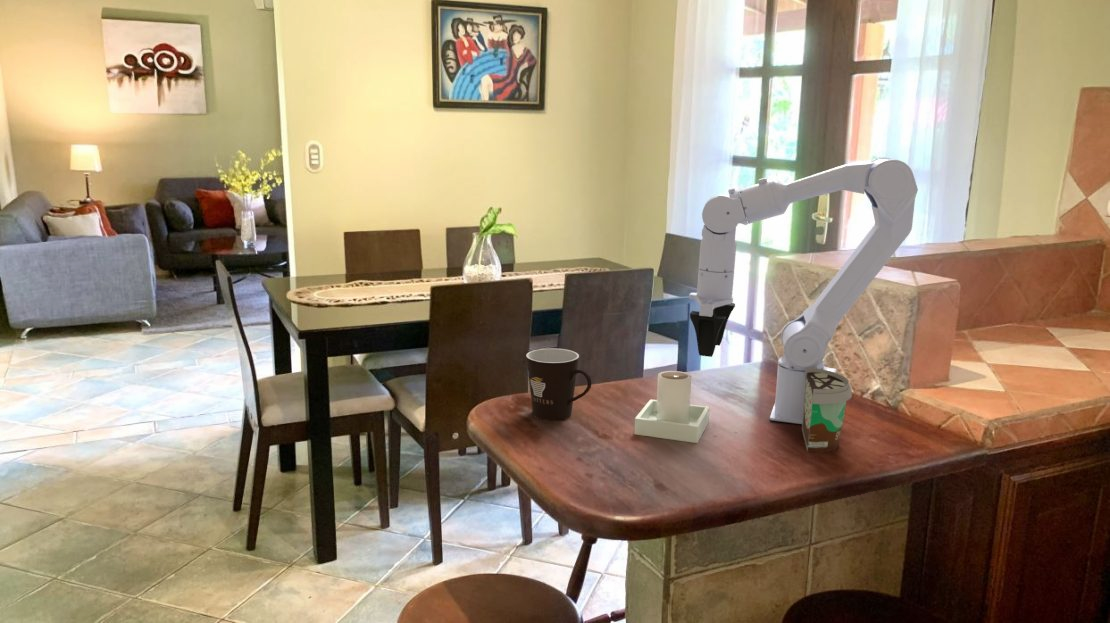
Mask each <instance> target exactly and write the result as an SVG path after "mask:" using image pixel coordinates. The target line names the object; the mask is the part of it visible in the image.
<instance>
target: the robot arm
mask: <svg viewBox="0 0 1110 623" xmlns="http://www.w3.org/2000/svg"><path fill="white" fill-rule="evenodd" d="M757 181H758V182H757V183H755V184H753V185H750V186H746V187H742V188H739V189H736V188H735V187H732V188H729V189H728V190H727V191H728V194H729V195H727V194H716V195H714V196H711V197H710V198H709V199H708V200H707V201H706V203H705V204H704V205H703V206H704V207H703V209H702V212H701V217H702V218H701V219H702V223H703V227H702V229H701V236H702V238H701V239H700V243H699V244H700V246H699V258H698V270H697V271H698V275H697V286H696V287H697V288H696V292H690V293H689V295H688V298H689V299H690V300H695V301H696V302H697V303H698V305H699V311H695V310H691V312H689V318H690V321H691V322H692V325H693V328H694V332H695V336H696V341H697V342H696V343H697V350H698V355H699V356H701V357H710V358H712V357H713V355H714V353H715V350H716V346H721V343H722V341H723V339H724V334H725V332H726V327H727V323H728V321H729V318H730V316H731V314H732V312H733V310H734V309H735V307H736V303H735V302H734V297H733V289H734V288H733V287H734V279H735V278H734V277H735V265H736V253H737V241H736V231H737V226H738V225H739V224H742V225H744V226H746V225H750V224H754V223H757V222H760V221H764V220H767V219H771V218H775V217H777V216H782V215H783V214H785V213H786V211H787V209H788V207H789V206H790V205H791V204H793V203H796V202H800V201H804V200H809V199H812V198H816V197H819V196H824V195H828V194H831V193H835V192H840V191H847V192H851V193H856V194H857V193H858V194H862V195H864V194H865V195H866V197H867V198H868V200H869V201H870V204H871V209H872V214H873V217H874V218H873V219H874V225H873V226H872V227H871V228H870V230H869V231H868V232H867V234H866V235H865V236H864V238H863V239H862V240H861V242H860V243H859V244H858V245H857V246H856V248H855V249H854V251H853V252H852V253H851V254H850V256H849V257H848V258H847V260H846V261H845V262H844V263H843V265H842V266H841V267H840V269H839V270H838V271H837V273H836V274H835V275H834V276H833V278H831V281H829V283H828V284H827V286H826V287H825V288H824V290H822V292H821V293H820V295H819V296H818V297H817V299H816V300H814V302H813V303H812V304H811V305H810V306H808V307H807V308H806V309H804V310H803V312H802V313H801V314H800V316H798V317H797V318H795V319H793V320H791V321H789V322H787V324H786V325H785V326H783V328H782V331H781V333H780V335H781V337H780V340H781V343H782V346H783V354H782V356H780V357H779V358H778V359H777V360H778V361H777V370H776V371H777V373H776V374H777V375H776V387H775V402H774V404H773V407H772V410H771V413H770V415H769V420H770V421H773V422H780V423H781V422H782V423H789V424H798V425H802V422H803V407H804V393H805V374H806V367H807V368H817V369H823V370H828V371H831V372H835V373H837V369H836V368H833V367H828V366H825V362H824V358H825V355H826V352H827V350H826V349H827V347H828V345H829V343H830V341H831V340H832V339H833V338H834V336H835V333H836V331H837V327H838V325H839V323H840V322H841V321H842V320H843V318H844V317H845V316H846V314H847V313H848V312H849V311H850V310H851V308H852V307H853V306H854V305H855V304H856V302H857V300H858V299H859V298H860V297H861V296H862V294H863V293H864V292H865V291H866V289H867V288H868V287H869V285H870V284H871V283H872V281H873V280H874V279H875V277H877V275H878V274H879V273H880V272H881V270H882V269H883V268H884V266H885V265H886V264H887V263H888V261H889V260H890V259H891V257H892V256H894V254H895V253H896V251H897V250H898V249H899V248H900V246H901V245H902V244H903V242H904V241H905V240H906V238H908V236H909V235H910V233H911V232H912V229H913V223H914V222H913V221H914V214H915V203H916V202H915V201H916V196H917V193H918V191H919V190H918V186H917V182H916V178H915V176H914V172H913V170H912V168H911V167H910V166H909V165H908V164H907V163H906V162H905V161H902V160H900V159H894V158H893V159H892V158H889V157H877V158H874V159H872V160H864V161H863V160H862V161H855V162H851V163H846V164H842V165H840V166H836V167H832V168H830V169H827V170H824V171H821V172H817V173H814V174H812V175H808V176H806V177H802V178H799V179H797V180H794V181H791V182H787V183H783V182H781V181H779V180H777V179H775V178H771V179H769V180H768V178H767V177H763V178H760V179H757Z"/></svg>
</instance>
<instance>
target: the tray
mask: <svg viewBox="0 0 1110 623" xmlns="http://www.w3.org/2000/svg"><path fill="white" fill-rule="evenodd" d="M710 409H711V408H710V406H707V405H697V404H691V403H690V423H689V424H683V423H676V422H669V421H661V420H656V416H657V399H649V401H648V402H646V404H645V406H643V408H642V409H641V410H640V412H639V413H638V414H637V415H636V416H635V417H634V435H638V436H645V437H651V438H658V439H659V438H660V439H665V440H671V441H681V442H685V443H687V442H688V443H692V444H693V443H695V444H698V443H699V441H700V440H701V437H702V435H703V433H704V431H705V430H706V428H707V426H708V425H709V423H710V412H711V411H710Z"/></svg>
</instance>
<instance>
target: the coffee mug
mask: <svg viewBox="0 0 1110 623" xmlns="http://www.w3.org/2000/svg"><path fill="white" fill-rule="evenodd" d="M525 356H526V366H527V367H526V368H527V374H528V382H529V384H528V385H529V390H530V392H529V393H530V400H531V409H532V415H533V416H534V417H535V416H536V417H535V418H537V417H538V418H537V419H539V418H541V419H540V420H543V419H545V420H544V421H562V420H566V419H568V418H570V417H571V416H572V412H573V405H574V402H575V401H577V400H579V399H581V398H583V397H584V396H585V395H586V394H588V393H589V391H590V390H591V388H592V379H591V376H590V374H589V373H588V372H587V371H585V370H584V369H580V368H579V359H580V354H579V353H578V352H575V351H573V350H570V349H565V348H551V347H550V348H541V349H540V348H538V349H535V350H531V351H528V352H527V353H526V355H525ZM578 368H579V369H578ZM577 374H581V375H583V376H584V377H585V379H586V382H587V385H586V389H584V391H583V392H580V393H579V394H577V395H575V389H576V388H575V387H576V382H577ZM546 419H547V420H546ZM561 419H562V420H561Z"/></svg>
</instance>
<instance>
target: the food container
mask: <svg viewBox="0 0 1110 623" xmlns="http://www.w3.org/2000/svg"><path fill="white" fill-rule="evenodd" d="M852 397H853V394H852V387H851V384H850V382H849V379H848V378H847V377H846V376H844V375H842V374H840V373H837V372H836V373H835V372H831V371H828V370H823V369H817V368H807V367H806V374H805V393H804V407H803V422H802V424H801V431H802V436H803V439H804V443H805V448H806V451H807V453H826V452H831V451H834V450H836V449H837V448H838V447H839V444H840V440H841V435H842V434H841V433H842V428H843V421H844V418H845V410H846V405H847V401H849V400H851V398H852Z"/></svg>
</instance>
